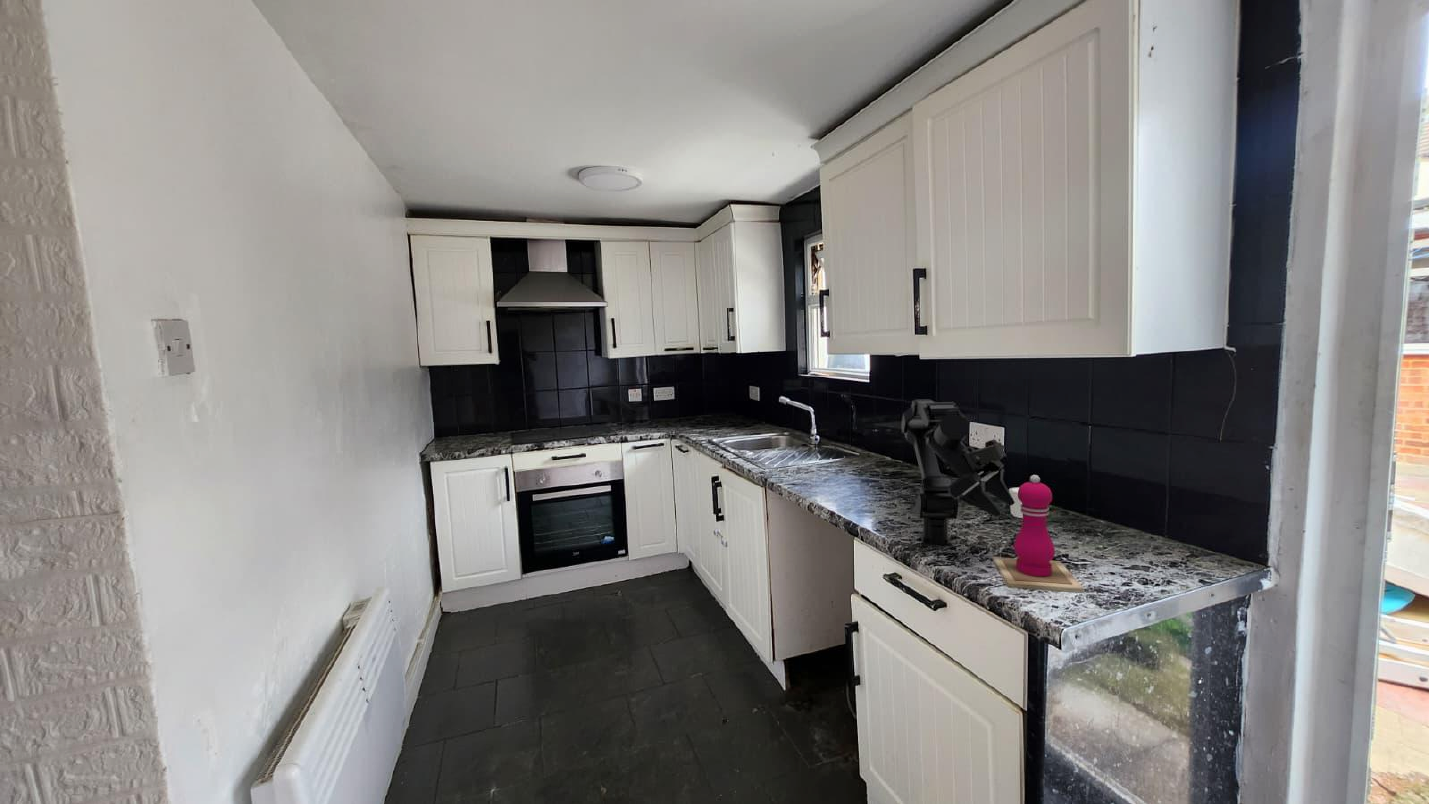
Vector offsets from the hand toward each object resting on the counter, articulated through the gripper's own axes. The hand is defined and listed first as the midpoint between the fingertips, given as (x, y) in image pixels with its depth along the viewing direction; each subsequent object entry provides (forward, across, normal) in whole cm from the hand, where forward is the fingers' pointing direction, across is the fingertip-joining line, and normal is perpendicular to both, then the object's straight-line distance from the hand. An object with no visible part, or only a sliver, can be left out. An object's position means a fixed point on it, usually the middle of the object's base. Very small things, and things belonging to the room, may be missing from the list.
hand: (1006, 509), depth 112 cm
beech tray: (+13, 0, +5) cm, 14 cm away
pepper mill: (+12, 0, +5) cm, 13 cm away
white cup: (+4, +38, +14) cm, 41 cm away
